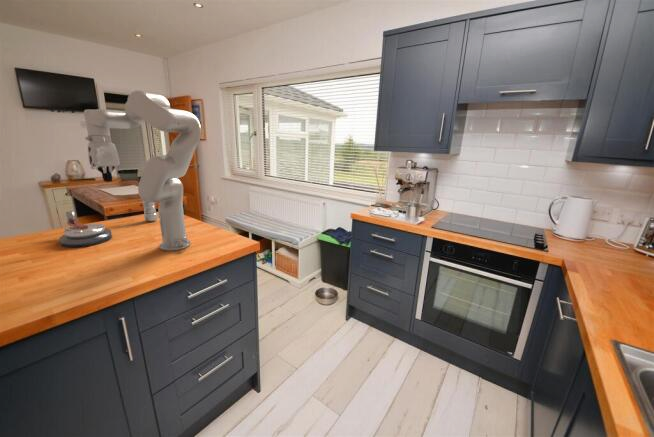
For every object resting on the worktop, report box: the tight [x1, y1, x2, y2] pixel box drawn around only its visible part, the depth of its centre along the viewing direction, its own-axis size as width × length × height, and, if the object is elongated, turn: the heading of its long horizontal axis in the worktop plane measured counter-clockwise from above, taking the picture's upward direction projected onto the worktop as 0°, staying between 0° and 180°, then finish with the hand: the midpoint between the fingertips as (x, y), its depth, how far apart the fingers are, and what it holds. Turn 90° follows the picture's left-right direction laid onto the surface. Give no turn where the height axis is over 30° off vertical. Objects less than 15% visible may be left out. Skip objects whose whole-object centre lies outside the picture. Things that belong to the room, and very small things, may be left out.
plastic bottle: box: [141, 199, 159, 222], centre depth 154 cm, size 6×7×20 cm
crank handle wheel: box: [63, 210, 106, 239], centre depth 125 cm, size 14×20×9 cm
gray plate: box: [58, 228, 113, 249], centre depth 125 cm, size 18×18×3 cm
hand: (108, 181), depth 124 cm, fingers closed
